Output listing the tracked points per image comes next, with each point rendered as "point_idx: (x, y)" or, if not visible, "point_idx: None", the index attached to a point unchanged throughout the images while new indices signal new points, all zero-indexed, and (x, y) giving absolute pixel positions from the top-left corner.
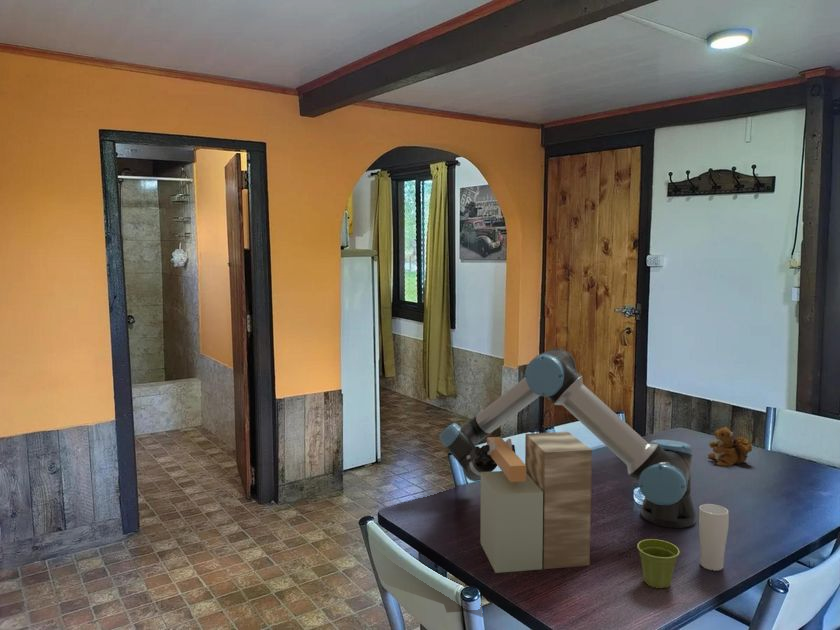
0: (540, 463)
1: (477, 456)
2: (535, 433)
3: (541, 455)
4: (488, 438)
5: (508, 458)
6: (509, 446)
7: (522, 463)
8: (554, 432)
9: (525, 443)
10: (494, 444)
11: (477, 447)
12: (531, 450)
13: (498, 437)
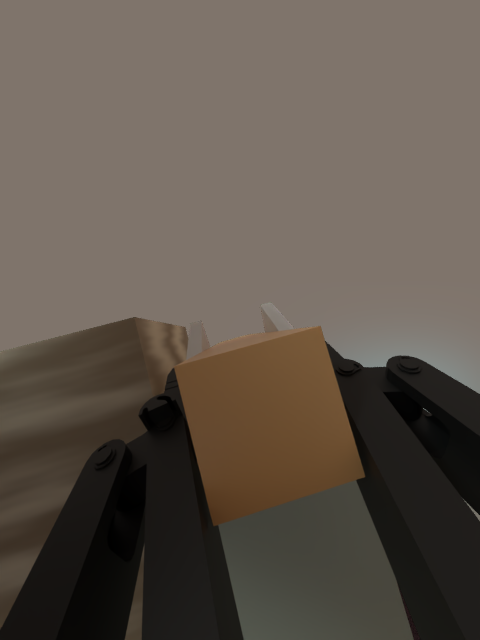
0: (186, 356)
1: (433, 450)
2: (95, 327)
3: (183, 338)
4: (300, 329)
5: (243, 336)
6: (209, 346)
7: (223, 341)
8: (13, 348)
9: (143, 355)
10: (264, 322)
11: (396, 362)
12: (167, 353)
13: (204, 357)
